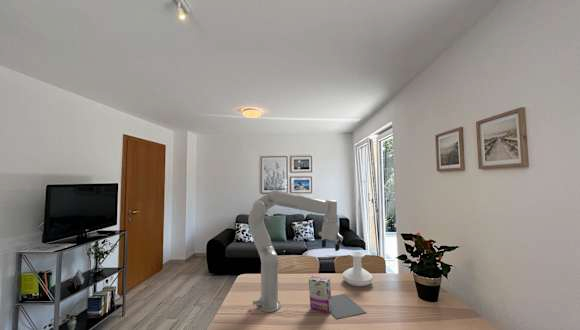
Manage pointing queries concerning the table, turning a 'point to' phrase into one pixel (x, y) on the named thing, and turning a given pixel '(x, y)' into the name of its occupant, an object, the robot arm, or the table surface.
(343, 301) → the mat
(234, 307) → the table surface
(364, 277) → the candle holder
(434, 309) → the table surface
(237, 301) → the table surface
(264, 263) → the robot arm
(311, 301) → the candy bar box
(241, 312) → the table surface
